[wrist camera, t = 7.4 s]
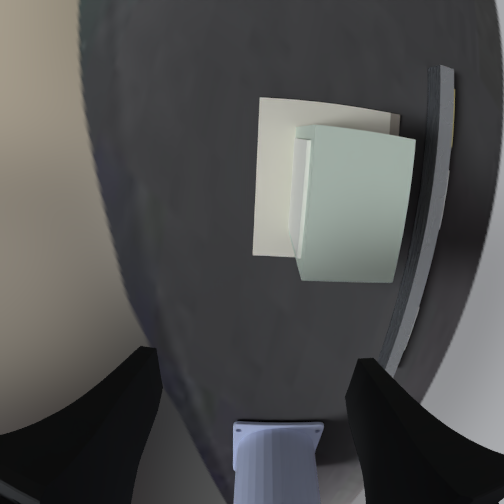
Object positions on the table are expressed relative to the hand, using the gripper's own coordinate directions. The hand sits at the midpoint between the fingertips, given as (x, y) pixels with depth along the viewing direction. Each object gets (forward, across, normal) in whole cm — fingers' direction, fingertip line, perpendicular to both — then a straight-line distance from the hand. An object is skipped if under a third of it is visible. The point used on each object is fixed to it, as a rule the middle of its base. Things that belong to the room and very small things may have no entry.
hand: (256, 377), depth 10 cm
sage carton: (+9, -4, -6) cm, 11 cm away
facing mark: (+9, -4, -6) cm, 11 cm away
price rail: (+9, -10, -3) cm, 14 cm away
